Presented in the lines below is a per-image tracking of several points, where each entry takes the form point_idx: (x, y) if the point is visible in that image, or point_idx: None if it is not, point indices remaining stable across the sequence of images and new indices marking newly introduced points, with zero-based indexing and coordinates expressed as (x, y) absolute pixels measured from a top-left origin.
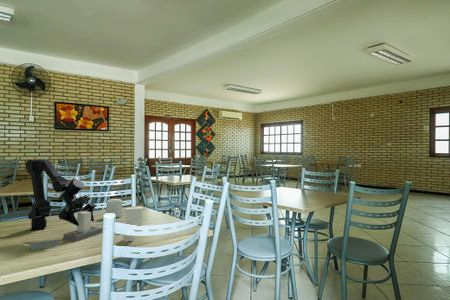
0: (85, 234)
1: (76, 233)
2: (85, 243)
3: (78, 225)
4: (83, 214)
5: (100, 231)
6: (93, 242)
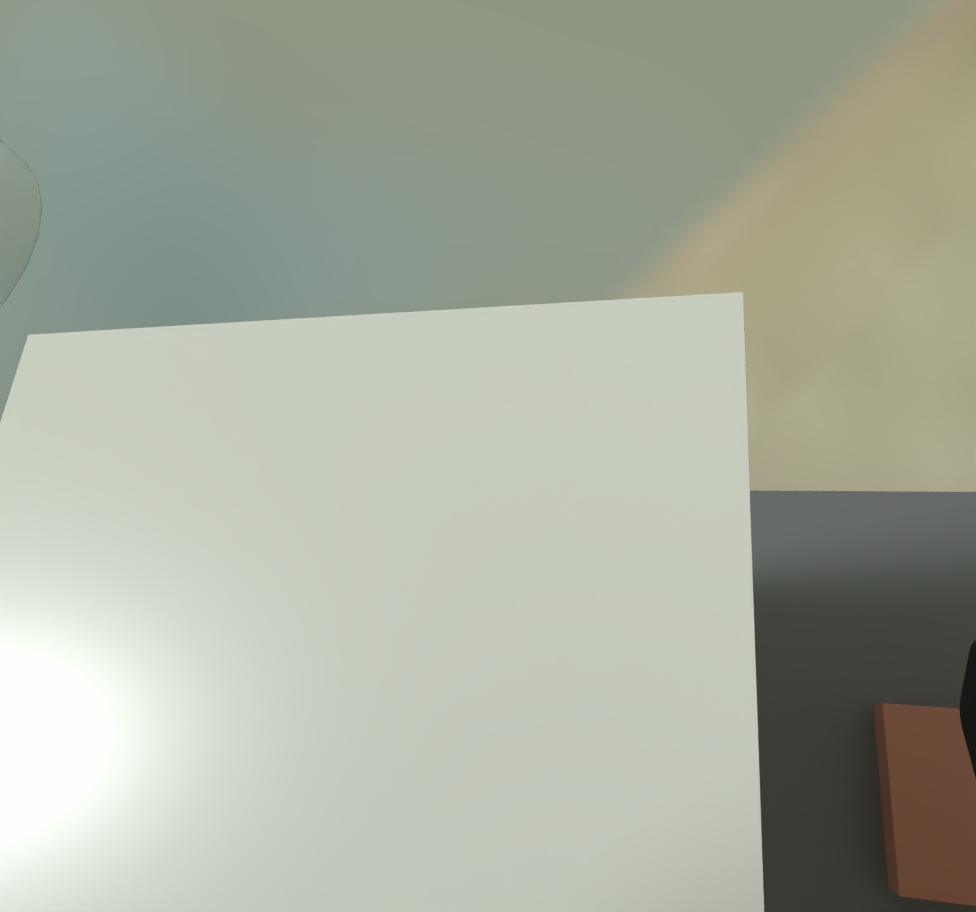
0: (755, 499)
1: (954, 707)
2: (946, 315)
3: (974, 670)
4: (746, 474)
5: None
6: (805, 236)
